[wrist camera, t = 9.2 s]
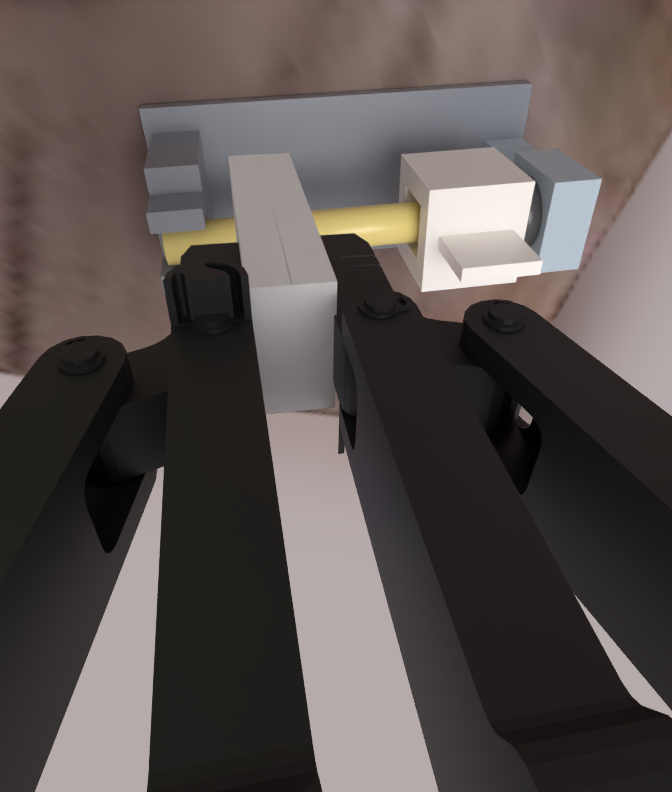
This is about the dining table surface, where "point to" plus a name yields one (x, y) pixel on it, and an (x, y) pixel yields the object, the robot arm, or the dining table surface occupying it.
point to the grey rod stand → (353, 162)
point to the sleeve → (467, 219)
